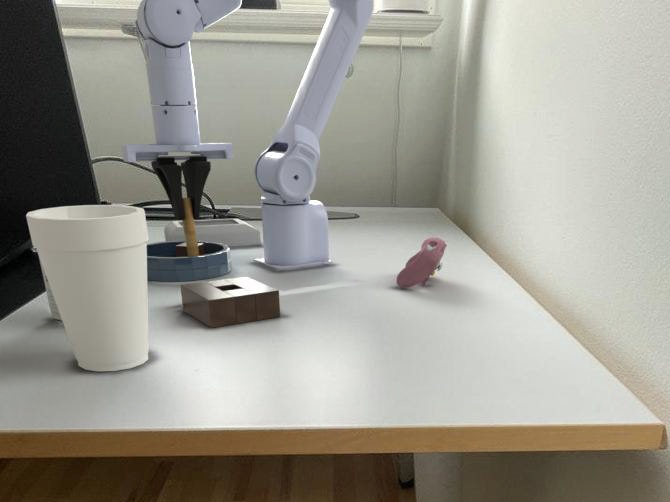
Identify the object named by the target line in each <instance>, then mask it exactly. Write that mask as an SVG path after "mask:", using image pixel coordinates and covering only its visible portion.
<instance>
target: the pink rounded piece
mask: <svg viewBox="0 0 670 502" xmlns="http://www.w3.org/2000/svg"><path fill="white" fill-rule="evenodd" d="M447 246H448V245H447V243H446V241H445V240H443V239H442V238H440V237H428V238H427V239H425V240H424V241H423V242H422V244H421V247H420V250H419V251H418V252H416V253H415V254H414V255H413V256H411V257H410V258H409V259H408V260H407V262H406V263H405V267H403V268H402V270H400V271H399V273H398V274H397V276H396V280H395V281H396V284H397V286H398V288H401V289H405V288H411V287H414V286H416V285H418V284H419V283H420V284H422V285H424V286H425V285H426V284H427V282H428V281H429V279H430V277H433V276H435V273H436V271H437V272H440V271H441V270H442V268H443V264H444V263H443V262H441V261H442V258H443V256H444V254H445V251H446V248H447Z"/></svg>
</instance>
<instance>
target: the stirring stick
mask: <svg viewBox="0 0 670 502" xmlns="http://www.w3.org/2000/svg"><path fill="white" fill-rule="evenodd" d="M183 204H184V211H185V220H181V221H183V228H184V234H185V241H186V247H187V253H188V257H192V256H199V249H198V242H197V236H196V229H195V222H194V220H195V219H194V215H193V209H192V202H191V198H187V197H183Z"/></svg>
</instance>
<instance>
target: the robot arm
mask: <svg viewBox="0 0 670 502" xmlns="http://www.w3.org/2000/svg"><path fill="white" fill-rule="evenodd" d="M242 1H243V0H141V1H140V3H139V6H138V8H137V12H136V20H135V21H134V22H135V23H134V24H135V27H136V30H137V33H138V35H139V36H140V38H141V39H142V40H143V44H144V54H145V58H146V62H145V69H146V75H147V77H146V78H147V85H148V92H149V100H150V106H151V115H152V122H153V123H152V124H153V130H154V138H155V143H140V144H138V143H137V144H121V151H122V157H123V158H122V159H123V162H125V163H138V162H150V163H151V168H152V170H153V172H154V173H155V175H156V176H157V178H158V180H159V182H160V183H161V185H162V188H163V189H164V191H165V193H166V196H167V198H168V201H169V204H170V206H171V210H172V212H173V216H174V219H176V220H178V221H182V220H185V211H184V204H183V198H184V197H183V184H182V181H183V180H182V178H183V179H184V185H185V191H186V198H191V202H192V209H193V215H194V220H199V219H200V215H201V214H200V212H201V204H202V198H203V193H204V189H205V185H206V183H207V179H208V177H209V175H210V172H211V169H212V163H211V161H208V160H233V159H234V147H233V143H231V142H201V132H200V123H199V114H198V106H197V104H198V103H197V95H196V94H197V93H196V84H195V75H194V74H195V73H194V65H193V63H192V53H191V43H190V41H191V39H192V38H193V35H194V33H197V34H199V33H201V32H203V31H204V30H206V29H207V28H209V27H211V26H212V25H214V24H216V23H217V22H219V21H221V20H222V19H224V18H225V17H227V16H229V15H230V14H232V13H234V12H235V11H237V10H239V9H240V8H241V6H242V3H243V2H242ZM327 2H328V4H329V7H330V8H329V9H330V10H329V13H328V16H327V18H326V20H325V23H324V25H323V28H322V30H321V33H320V35H319V37H318V40H317V43H316V45H315V47H314V50H313V52H312V55H311V57H310V60H309V62H308V64H307V67H306V70H305V72H304V74H303V77H302V79H301V82H300V85H299V87H298V89H297V92H296V94H295V96H294V99H293V101H292V104H291V106H290V109H289V112H288V113H287V116H286V119H285V120H284V123H283V124H282V126H281V127H280V128H279V129H278V131H277V132H276V133H275V134H274V135H273V137H272V139H271V141H270V144H269V146H268V147H267V148H266V149H265V150H264V151H262V153H261V154H260V155H259V156H258V157H257V159H256V161H255V163H254V167H253V175H254V180H255V182H256V185H257V186H258V187H259V189H260V190H261V191H262V195H261V197H260V209H261V225H262V226H261V227H262V241H263V242H262V243H263V257H259V258H254V259H253V261H254V262H257V263H260V264H263V265H265V266H268V267H270V268H273V269H275V270H282V269H283V270H284V269H291V268H298V267H305V266H313V265H323V264H324V265H332V263H333V262H332V260H330V242H329V241H330V240H329V238H330V236H329V235H330V234H329V215H328V213H327V209H326V207H325V206H324V204H323V203H322V202H321V201H319V200H311V196H310V195H311V194H312V193H313V191H314V189H315V186H316V183H317V166H318V163H319V161H320V159H321V148H320V142H319V141H320V139H321V137H322V134H323V131H324V129H325V126H326V124H327V122H328V120H329V117H330V115H331V112H332V110H333V108H334V106H335V104H336V101H337V99H338V96H339V95H340V91H341V89H342V87H343V84H344V82H345V79H346V78H347V75H348V72H349V70H350V67H351V66H352V63H353V61H354V58H355V56H356V54H357V51H358V49H359V47H360V44H361V42H362V39H363V37H364V35H365V32H366V30H367V28H368V25H369V23H370V20H371V18H372V16H373V11H374V7H375V6H374V5H375V4H374V3H375V0H327ZM169 153H190V154H191V155H169ZM176 161H182V162H180V164H178V162H176ZM182 176H183V177H182Z"/></svg>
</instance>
